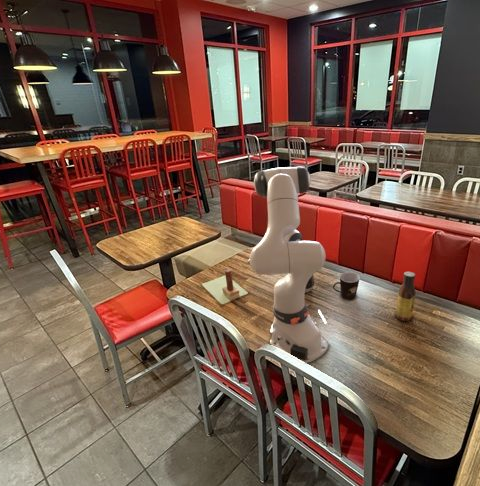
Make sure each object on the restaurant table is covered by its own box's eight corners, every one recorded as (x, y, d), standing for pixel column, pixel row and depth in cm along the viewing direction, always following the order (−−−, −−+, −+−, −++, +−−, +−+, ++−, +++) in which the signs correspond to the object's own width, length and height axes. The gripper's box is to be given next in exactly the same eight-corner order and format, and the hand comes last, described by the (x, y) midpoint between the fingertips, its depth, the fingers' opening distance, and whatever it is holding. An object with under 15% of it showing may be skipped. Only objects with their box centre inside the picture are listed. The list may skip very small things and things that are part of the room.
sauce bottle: (413, 322, 122) (420, 279, 114) (396, 321, 124) (402, 278, 115) (410, 312, 128) (417, 270, 120) (394, 311, 129) (400, 269, 121)
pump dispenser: (315, 295, 142) (315, 266, 135) (292, 296, 142) (292, 267, 136) (313, 283, 151) (313, 255, 145) (292, 284, 152) (291, 256, 145)
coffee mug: (356, 290, 144) (358, 272, 140) (359, 301, 136) (361, 282, 132) (331, 290, 145) (332, 271, 141) (332, 301, 137) (333, 282, 133)
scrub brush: (239, 296, 143) (236, 271, 138) (230, 300, 141) (226, 275, 135) (232, 289, 149) (229, 265, 143) (222, 293, 146) (219, 269, 140)
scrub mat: (248, 294, 146) (248, 293, 145) (221, 305, 138) (221, 304, 138) (226, 275, 162) (226, 274, 162) (201, 285, 155) (201, 284, 154)
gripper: (264, 244, 161) (241, 252, 153) (288, 258, 146) (264, 268, 138) (264, 255, 163) (242, 263, 156) (289, 270, 148) (265, 280, 141)
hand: (252, 266), depth 147 cm, fingers open, 8 cm apart
